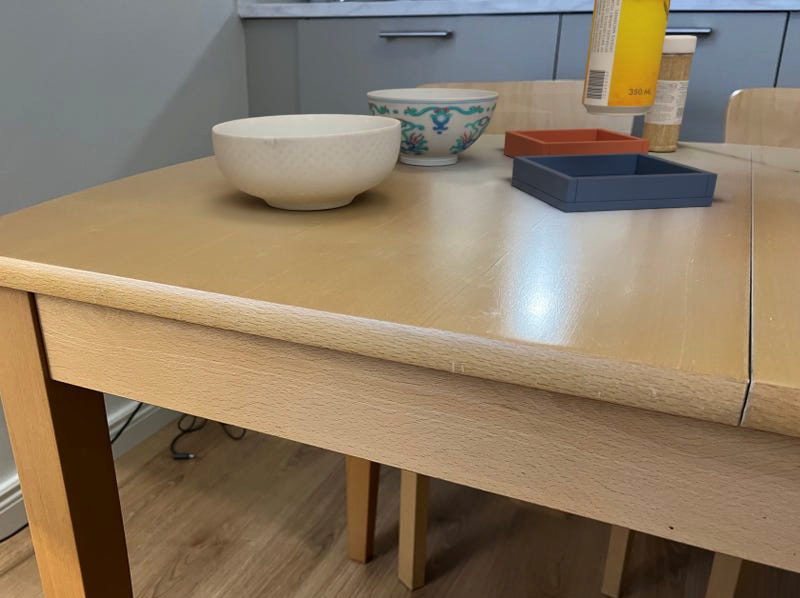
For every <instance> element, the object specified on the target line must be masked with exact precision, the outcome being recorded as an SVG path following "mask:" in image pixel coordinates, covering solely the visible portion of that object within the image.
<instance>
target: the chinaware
mask: <svg viewBox="0 0 800 598" xmlns="http://www.w3.org/2000/svg"><path fill="white" fill-rule="evenodd" d="M366 100H367V105H368V110H369V114H370V116H380V117H387V118H393V119H396V120H399V121H400V123H401V144H400V149H399V154H400V159H399V161H400V162H401V163H403V164H406V165H412V166H422V167H424V166H425V167H439V166H449V165H454V164H456V163H457V162H458V158H459V157H458V156H459V154H461V153H463V152H464V151H466V150H468V149H469V148H470V147H471V146H472V145H474V143H476V142H477V141H478V139H479V138H480V137H481V136H482V135H483V133H484V132H485V131H486V129H487V128H488V126H489V124H490V122H491V120H492V118H493V115H494V112H495V110H496V106H497V103H498V100H499V93H498V92H497V91H492V90H485V89H474V88H472V89H471V88H447V87H445V88H444V87H443V88H441V87H421V88H419V87H418V88H415V87H414V88H413V87H412V88H390V89H389V88H388V89H380V90H372V91H368V92H367V93H366Z"/></svg>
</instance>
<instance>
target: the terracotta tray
mask: <svg viewBox="0 0 800 598" xmlns="http://www.w3.org/2000/svg"><path fill="white" fill-rule="evenodd" d="M503 144H504V146H503V155H505V156H508V157H510V158H513V159H514V157H518V156H521V157H522V156H548V155H579V154H610V153H645V154H648V155H649V152H650V151H649V145H650V140H646V139H642V137H638V136H634V135H629V134H626V133H622V132H617V131H613V130H610V129H606V128H602V127H599V128H597V127H596V128H595V127H594V128H565V129H563V128H562V129H560V128H559V129H529V130H527V129H526V130H525V129H524V130H506V131H505V134H504V143H503Z"/></svg>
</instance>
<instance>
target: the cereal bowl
mask: <svg viewBox="0 0 800 598" xmlns="http://www.w3.org/2000/svg"><path fill="white" fill-rule="evenodd" d="M211 139H212V145H213V147H212V148H213V153H214V158H215V160H216V164H217V166H218V168H219V171H220V173H221V174H222V175H223V177H224V178H225V180H226V181H228V182H229V184H230V185H232V186H233V187H234V188H236V189H237V190H239V191H241V192H243V193H246V194H248V195H251V196H253V197H257V198H259V199H262V200H264V201H265V203H266V204H267V205H269V206H270V207H273V208H276V209H280V210H290V211H321V210H329V209H335V208H340V207H344V206H347V205H349V204H350V203H352V201H353V200H354V198H355V197H356V196H358V195H360V194H362V193H364V192H366V191H369V190H371V189H372V188H374V187H376V186H377V185H379V184H381V182H383V181H384V180H385V179H386V178H387V177H388V176H389V175H390V174H391V172H392V171H393V169H394V168H395V166H396V164H397V162H398V159H399V154H400V153H399V149H400V144H401V123H400V121H399V120H396V119H393V118H387V117H380V116H371V115H366V114H348V113H347V114H341V113H309V114H308V113H307V114H305V113H304V114H281V115H268V116H257V117H248V118H247V117H246V118H240V119H233V120H229V121H225V122H221V123H218V124H216V125H214V126H212V128H211Z"/></svg>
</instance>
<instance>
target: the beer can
mask: <svg viewBox="0 0 800 598" xmlns="http://www.w3.org/2000/svg"><path fill="white" fill-rule="evenodd" d="M670 7H671V0H594V4H593V11H592V19H591V27H590V36H589V42H588V51H587V59H586V67H585V74H584V82H583V91H582V99H581V104H582V105H583V106H584V108H585V109H586V114H589V115H595V116H609V117H637V116H645V114H646V111H647V110H648V109H649V108H650V107H652V106H653V105H654V100H655V94H656V87H657V81H658V75H659V69H660V63H661V57H662V51H663V44H664V38H665V36H666V32H667V24H668V20H669V19H668V18H669V13H670Z"/></svg>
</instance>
